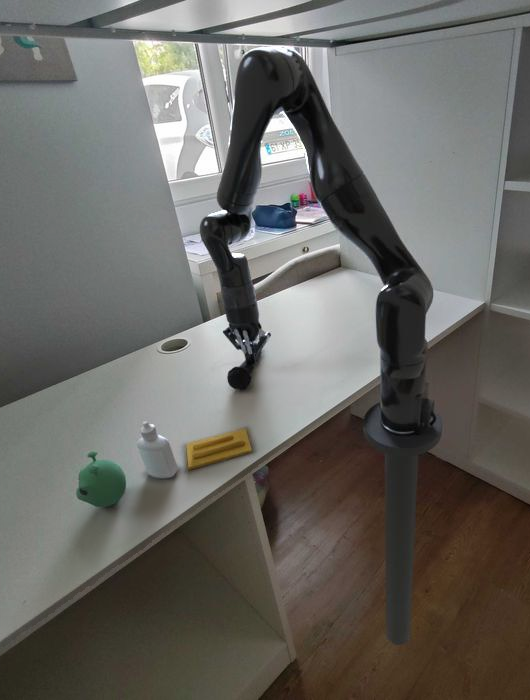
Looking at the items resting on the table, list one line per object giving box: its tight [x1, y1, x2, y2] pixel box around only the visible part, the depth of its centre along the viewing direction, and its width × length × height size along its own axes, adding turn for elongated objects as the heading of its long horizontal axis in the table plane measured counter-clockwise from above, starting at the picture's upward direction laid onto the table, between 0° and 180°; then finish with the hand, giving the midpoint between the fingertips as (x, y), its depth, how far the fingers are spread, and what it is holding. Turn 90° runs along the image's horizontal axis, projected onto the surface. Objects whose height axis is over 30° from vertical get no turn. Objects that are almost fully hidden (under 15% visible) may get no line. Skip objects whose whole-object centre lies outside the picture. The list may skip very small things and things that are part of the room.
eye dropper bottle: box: [136, 420, 179, 479], centre depth 80 cm, size 4×6×12 cm
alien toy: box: [75, 450, 127, 508], centre depth 75 cm, size 7×8×10 cm
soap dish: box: [185, 427, 253, 470], centre depth 87 cm, size 12×7×2 cm, turn 110°
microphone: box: [226, 348, 263, 390], centre depth 111 cm, size 6×6×20 cm
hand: (253, 364), depth 110 cm, fingers closed
